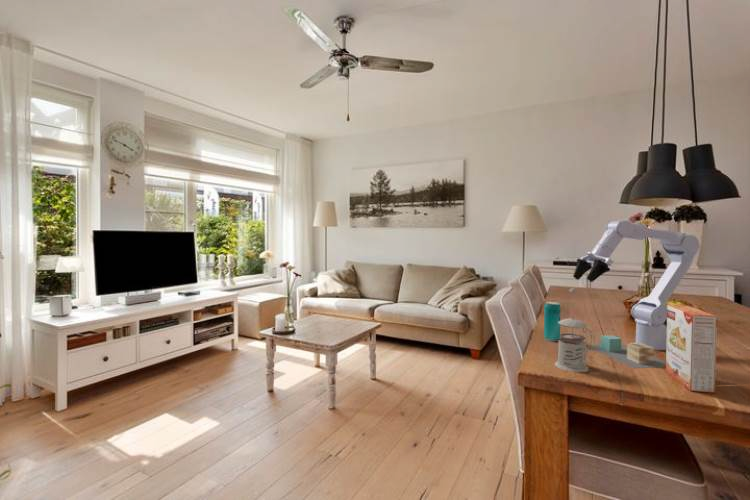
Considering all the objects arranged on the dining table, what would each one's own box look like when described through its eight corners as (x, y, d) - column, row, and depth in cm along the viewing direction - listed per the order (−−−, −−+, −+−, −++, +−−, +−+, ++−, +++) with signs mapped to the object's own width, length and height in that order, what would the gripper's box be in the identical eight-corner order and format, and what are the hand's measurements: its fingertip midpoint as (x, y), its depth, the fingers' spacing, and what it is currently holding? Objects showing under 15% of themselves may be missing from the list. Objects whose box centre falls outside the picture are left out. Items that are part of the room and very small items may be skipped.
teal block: (612, 347, 135) (612, 335, 135) (621, 351, 131) (621, 338, 130) (600, 347, 135) (600, 335, 134) (609, 351, 130) (609, 339, 130)
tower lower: (640, 357, 123) (641, 350, 123) (653, 363, 118) (653, 355, 118) (626, 358, 123) (627, 351, 123) (638, 363, 118) (639, 356, 118)
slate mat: (621, 345, 138) (621, 344, 138) (676, 367, 115) (676, 366, 115) (585, 346, 137) (585, 345, 137) (634, 369, 114) (634, 368, 114)
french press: (549, 360, 122) (550, 286, 121) (584, 361, 122) (586, 286, 120) (563, 372, 112) (564, 290, 111) (602, 372, 112) (603, 290, 111)
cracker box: (663, 372, 111) (666, 304, 111) (687, 374, 110) (690, 305, 109) (688, 391, 98) (691, 313, 97) (716, 394, 96) (718, 315, 95)
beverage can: (561, 342, 142) (562, 304, 141) (545, 341, 143) (546, 303, 143) (557, 338, 148) (558, 301, 147) (542, 337, 149) (542, 301, 148)
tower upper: (641, 350, 123) (641, 343, 123) (653, 355, 118) (653, 347, 118) (627, 351, 123) (627, 343, 123) (639, 356, 118) (639, 348, 118)
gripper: (582, 242, 139) (561, 270, 139) (610, 242, 125) (587, 274, 124) (596, 253, 140) (575, 282, 139) (625, 254, 125) (602, 286, 125)
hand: (582, 279), depth 132 cm, fingers open, 7 cm apart
